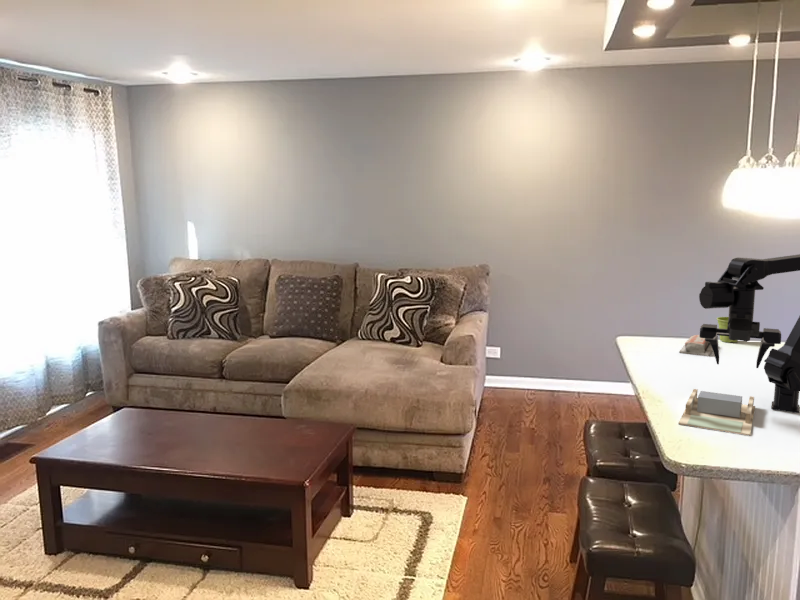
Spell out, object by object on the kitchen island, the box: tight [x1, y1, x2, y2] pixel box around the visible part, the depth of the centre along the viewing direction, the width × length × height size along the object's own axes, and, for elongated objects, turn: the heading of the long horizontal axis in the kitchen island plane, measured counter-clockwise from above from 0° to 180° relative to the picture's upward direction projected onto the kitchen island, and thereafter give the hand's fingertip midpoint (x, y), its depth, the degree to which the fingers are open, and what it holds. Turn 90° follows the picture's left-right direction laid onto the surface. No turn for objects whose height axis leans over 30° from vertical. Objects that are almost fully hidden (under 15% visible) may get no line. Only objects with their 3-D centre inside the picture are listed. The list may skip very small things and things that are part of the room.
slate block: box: [697, 390, 743, 418], centre depth 179 cm, size 6×10×4 cm, turn 60°
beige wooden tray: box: [678, 388, 756, 437], centre depth 177 cm, size 24×16×3 cm, turn 150°
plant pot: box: [716, 316, 739, 343], centre depth 260 cm, size 9×9×9 cm
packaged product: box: [678, 334, 714, 357], centre depth 248 cm, size 18×5×10 cm
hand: (737, 365), depth 179 cm, fingers open, 9 cm apart
